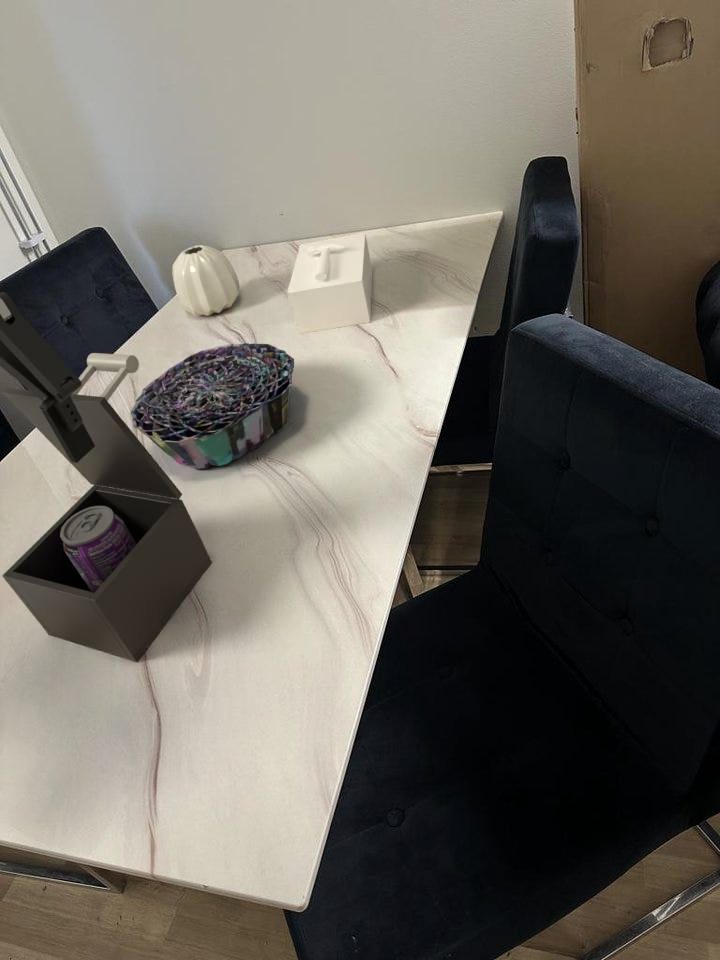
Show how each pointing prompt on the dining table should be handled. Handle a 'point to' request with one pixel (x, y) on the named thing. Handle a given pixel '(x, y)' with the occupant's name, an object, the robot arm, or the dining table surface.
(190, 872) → the dining table surface
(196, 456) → the decorative bowl
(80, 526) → the beverage can
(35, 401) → the lid
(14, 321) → the robot arm
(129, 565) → the dark open box
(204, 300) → the vase
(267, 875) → the dining table surface
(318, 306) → the white embossed block
